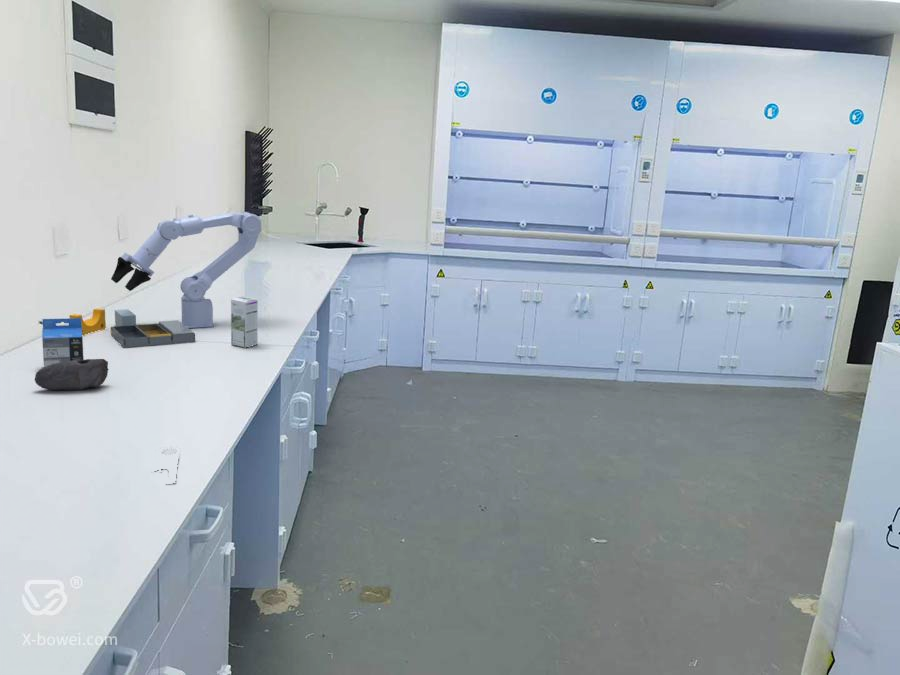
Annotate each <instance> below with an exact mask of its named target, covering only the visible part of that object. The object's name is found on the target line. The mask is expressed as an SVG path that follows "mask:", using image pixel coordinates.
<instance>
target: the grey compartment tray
mask: <svg viewBox="0 0 900 675" xmlns="http://www.w3.org/2000/svg"><path fill="white" fill-rule="evenodd" d="M180 322H181V321H179V320H176V319H175V320H164V321H163V320H162V321H158V323H145V324H136V325H129V326H116V325H114V326H110V335H111V337H112V338H113V339H114V340H116V342H117V341H118V342H119V343H120V344H121V347H122V348H124V349H127V348H142V347H150V346H151V347H152V346H164V344H165V345H174V344H175V343H177V344H186V343H187V342H189V343H195V342H196V333H195V332H193V331H192V329H191V328H187V327H186V326H185V325H183V324H182V323H180ZM119 343H118V344H119ZM120 344H119V345H120Z"/></svg>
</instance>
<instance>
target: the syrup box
mask: <svg viewBox="0 0 900 675" xmlns="http://www.w3.org/2000/svg"><path fill="white" fill-rule="evenodd" d="M258 306H259V305H258V299H257V298H251V297H245V296H238V297H234V298H231V299H230V312H231V313H230V317H231V318H230V319H231V322H230V327H231V328H230V329H231V333H230V336H231V340H230V341H231V346H233V345H234V346H235V347H238V346H239V347H238V348H242V347H244V348H243V349H247V348H246V347H249V348H251V347H250V346H252V345H256V344H257V345H258V343H259V342H258V340H259V339H258V337H259V335H258V324H259V323H258V318H259V317H258V314H259V313H258V311H259V308H258ZM257 345H256V346H257Z"/></svg>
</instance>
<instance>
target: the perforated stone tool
mask: <svg viewBox="0 0 900 675" xmlns="http://www.w3.org/2000/svg"><path fill="white" fill-rule="evenodd" d="M108 365H109V361H107V360H106V359H105V358H91V359H90V358H87V359H84V360H73V361H66V362H60V363H56V364H52V365H49V366H46V367H44V366H43V367H42V368H41V369H39V370H37V371H36V372H35V373H36V374H35V376H34V382H35V384H36V385H37V386H38V387H40V388H41V389H45V390H50V391H58V390H62V391H81V390H82V391H83V390H85V389H88V388H92V389H95V388H96V389H97V388H100V387H101V385H103V384H104V383H105V381H106V380H107V377H108V372H109V368H108V367H109V366H108Z"/></svg>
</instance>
